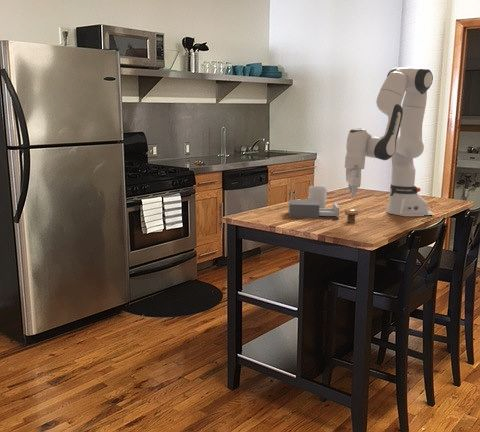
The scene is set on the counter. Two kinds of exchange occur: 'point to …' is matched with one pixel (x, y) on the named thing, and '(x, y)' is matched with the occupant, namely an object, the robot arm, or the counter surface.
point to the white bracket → (329, 211)
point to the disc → (351, 211)
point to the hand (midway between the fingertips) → (352, 194)
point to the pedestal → (351, 218)
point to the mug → (318, 195)
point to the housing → (306, 209)
